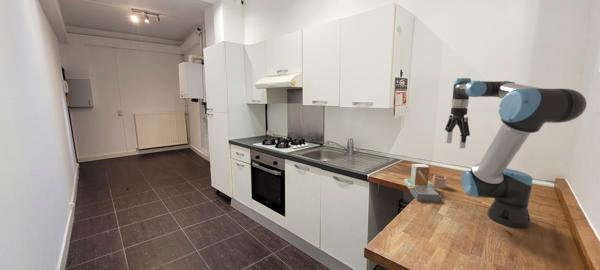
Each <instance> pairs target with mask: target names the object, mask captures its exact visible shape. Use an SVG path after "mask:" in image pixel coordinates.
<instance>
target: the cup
mask: <svg viewBox="0 0 600 270" xmlns="http://www.w3.org/2000/svg"><path fill="white" fill-rule="evenodd" d="M447 182H448V177H447V176H445V175H441V174H434V175H432V183H431V184H432V185H433V186H434V188H437V189H446V187H447Z"/></svg>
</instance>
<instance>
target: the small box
mask: <svg viewBox="0 0 600 270" xmlns="http://www.w3.org/2000/svg"><path fill="white" fill-rule="evenodd" d="M429 177H430V166H429V165H427V164H425V163H411V171H410V178H409V179H410V184H411V185H426V186H428V181H429Z"/></svg>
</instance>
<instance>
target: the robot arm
mask: <svg viewBox="0 0 600 270" xmlns="http://www.w3.org/2000/svg"><path fill="white" fill-rule="evenodd" d="M470 97H471V98H474V97H475V98H480V97H482V98H483V97H484V98H485V97H486V98H488V97H489V98H491V97H493V98H500V99H501V100H500V103H499V109H498V115H499V117H500V121H501V123H502V125H500V128H499V130H498V131H497V133H496V135H495V137H494V139H493V140H492V142H491V144H490V145H489V147H488V148H487V149H486V151H485V154H484V155H483V157H482V158H481V161H480V162H479V163H475V164H474V165H473V166H472V168H471V169H470V170H463V171H462V173H461V176H460V184H461V188H462V190H463V192H464V194H465V195H467V196H468V197H473V198H487V199H490V198H491V199H493V202H492V203H491V204H490V205H489V207H488V209H487V213H486V214H487V215H486V216H488V217H489V218H490V219H491V220H493V222H496V223H498V224H502V225H504V226H508V227H512V228H518V229H525V228H526V229H527V228H528V227H530V226H531V218H530V214H529V210H528V208H529V202H530V196H531V191H532V187H533V177H532V176H531V175H530V174H527V173H525V172H522V171H519V170H515V169H511V168H508V166H509V164H510V163H511V162H512V161H513V159H514V158H515V156H516V154H517V153H518V151H520V149H521V148H522V146H523V144H524V143H525V142H526V140H527V139H528V137H529V136H531V135H530V134H535V133H537V132H539V131H540V130H541V128H542V127H543V126H544V124H546V123H551V124H552V123H553V124H554V123H556V124H557V123H558V124H559V123H566V122H570V121H573V120H575V119H578V118H579V117H580V116H581V115H583V113H584V112H585V110H586V108H587V99H586V98H585V96H584V94H582V93H581V92H579V91H577V90H575V89H571V88H570V89H569V88H542V87H536V86H530V85H523V84H519V83H516V82H515V81H509V80H504V81H503V80H500V81H498V80H497V81H491V80H488V81H487V80H472V79H471V78H468V77H463V78H462V77H461V78H455V79H454V82H453V89H452V99H451V109H450V114H449V117H448V121H447V123H446V126H445V128H444V130H445V131H446V139H445V143H446V144H452V142H453V132H454V131H453V130H454V129H455V127H456V126H458V129H459V132H460V135H459V144H458V149H466V144H467V143H466V142H467V137H469V136H470V135H471V134H470V133H471V132H470V127H469V126H470V125H469V117H467V116H466V115H468V107H469V100H470V99H469V98H470ZM465 116H466V117H465Z"/></svg>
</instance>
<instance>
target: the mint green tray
mask: <svg viewBox="0 0 600 270" xmlns="http://www.w3.org/2000/svg"><path fill="white" fill-rule="evenodd" d="M410 179H411V178H404V179H403V184H404V185H405V184H406V185H405V186H406V187H407V188H408V190H410V187H413V186H425V187H432V188H433V189H434V190H435V187H434V186H433V185H432V183H431V182H430V181H429V180H428V186H426V185H411V184H410Z"/></svg>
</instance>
